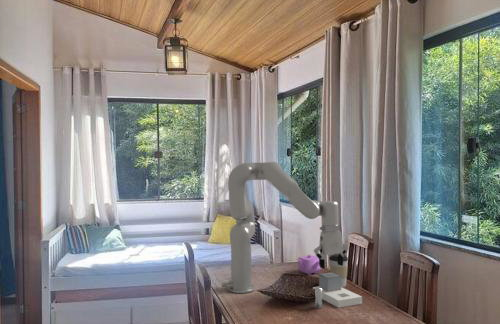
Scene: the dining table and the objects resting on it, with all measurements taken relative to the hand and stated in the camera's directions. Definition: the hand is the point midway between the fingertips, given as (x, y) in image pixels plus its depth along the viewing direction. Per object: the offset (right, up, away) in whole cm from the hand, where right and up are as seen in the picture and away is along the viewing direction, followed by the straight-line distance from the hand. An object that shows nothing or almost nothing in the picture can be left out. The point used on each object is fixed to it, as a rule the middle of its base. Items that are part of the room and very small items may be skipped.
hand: (331, 266), depth 198 cm
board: (+2, -13, -4) cm, 14 cm away
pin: (-8, -13, -15) cm, 22 cm away
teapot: (-4, -13, +38) cm, 40 cm away
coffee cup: (+7, -13, +16) cm, 22 cm away
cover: (0, -10, 0) cm, 10 cm away
